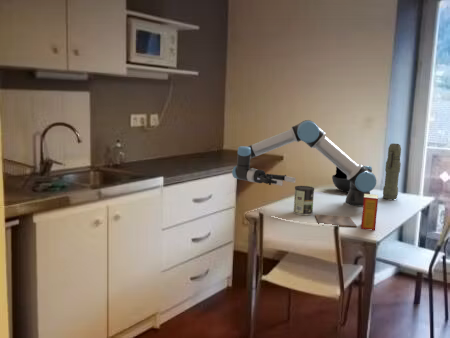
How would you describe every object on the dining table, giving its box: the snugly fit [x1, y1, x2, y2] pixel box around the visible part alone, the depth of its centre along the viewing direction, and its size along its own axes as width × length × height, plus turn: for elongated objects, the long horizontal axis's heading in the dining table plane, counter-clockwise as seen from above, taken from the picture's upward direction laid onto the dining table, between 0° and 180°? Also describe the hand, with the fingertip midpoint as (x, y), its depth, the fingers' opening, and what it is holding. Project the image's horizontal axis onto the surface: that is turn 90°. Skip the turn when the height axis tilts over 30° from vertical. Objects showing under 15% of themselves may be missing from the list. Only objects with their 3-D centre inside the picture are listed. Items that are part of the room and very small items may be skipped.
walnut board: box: [314, 214, 358, 228], centre depth 244 cm, size 18×18×1 cm
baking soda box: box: [360, 193, 379, 231], centre depth 235 cm, size 10×6×16 cm
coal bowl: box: [331, 166, 350, 193], centre depth 322 cm, size 20×20×19 cm
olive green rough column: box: [382, 143, 402, 200], centre depth 305 cm, size 9×12×35 cm
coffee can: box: [293, 185, 315, 216], centre depth 258 cm, size 10×10×14 cm
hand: (288, 181), depth 263 cm, fingers open, 13 cm apart
